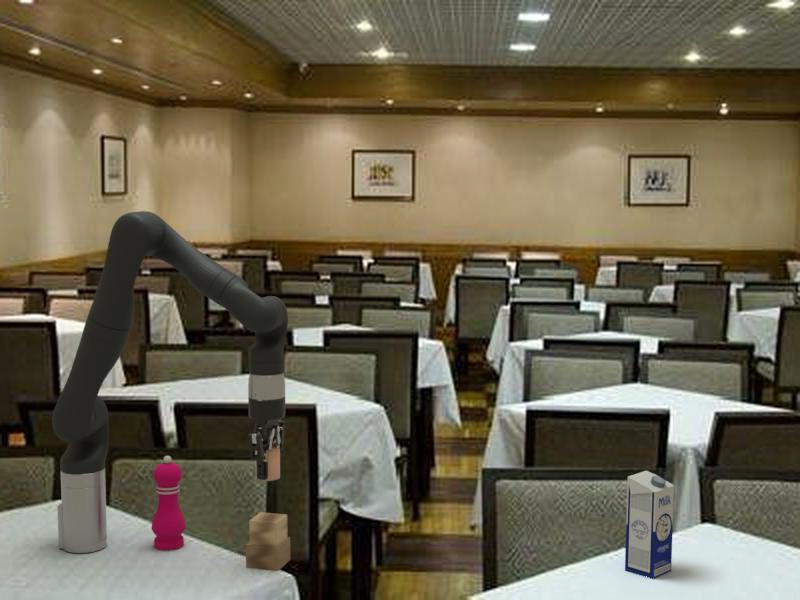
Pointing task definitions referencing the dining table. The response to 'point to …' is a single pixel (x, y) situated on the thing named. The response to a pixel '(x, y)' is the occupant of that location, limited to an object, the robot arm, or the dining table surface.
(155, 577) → the dining table surface
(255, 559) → the tower base
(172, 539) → the pepper mill
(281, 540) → the tower top
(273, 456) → the rounded stamp handle
